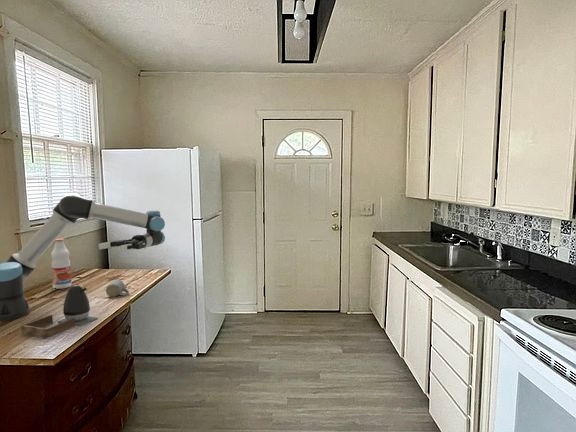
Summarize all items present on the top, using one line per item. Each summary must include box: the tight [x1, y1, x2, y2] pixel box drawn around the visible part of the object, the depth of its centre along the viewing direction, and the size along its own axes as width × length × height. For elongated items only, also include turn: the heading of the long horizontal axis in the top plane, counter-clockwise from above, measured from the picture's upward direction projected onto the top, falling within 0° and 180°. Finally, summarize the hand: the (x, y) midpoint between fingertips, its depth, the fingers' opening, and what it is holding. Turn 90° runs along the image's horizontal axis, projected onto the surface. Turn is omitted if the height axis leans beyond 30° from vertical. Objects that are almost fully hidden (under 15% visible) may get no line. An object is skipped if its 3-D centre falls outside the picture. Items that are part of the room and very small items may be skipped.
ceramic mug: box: [105, 279, 130, 298], centre depth 201 cm, size 11×8×8 cm
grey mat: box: [57, 315, 98, 327], centre depth 164 cm, size 13×9×1 cm
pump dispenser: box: [62, 284, 91, 322], centre depth 163 cm, size 10×10×15 cm
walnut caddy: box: [20, 314, 76, 339], centre depth 153 cm, size 14×13×4 cm
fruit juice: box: [50, 238, 73, 290], centre depth 216 cm, size 9×9×28 cm
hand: (110, 247), depth 180 cm, fingers open, 13 cm apart
